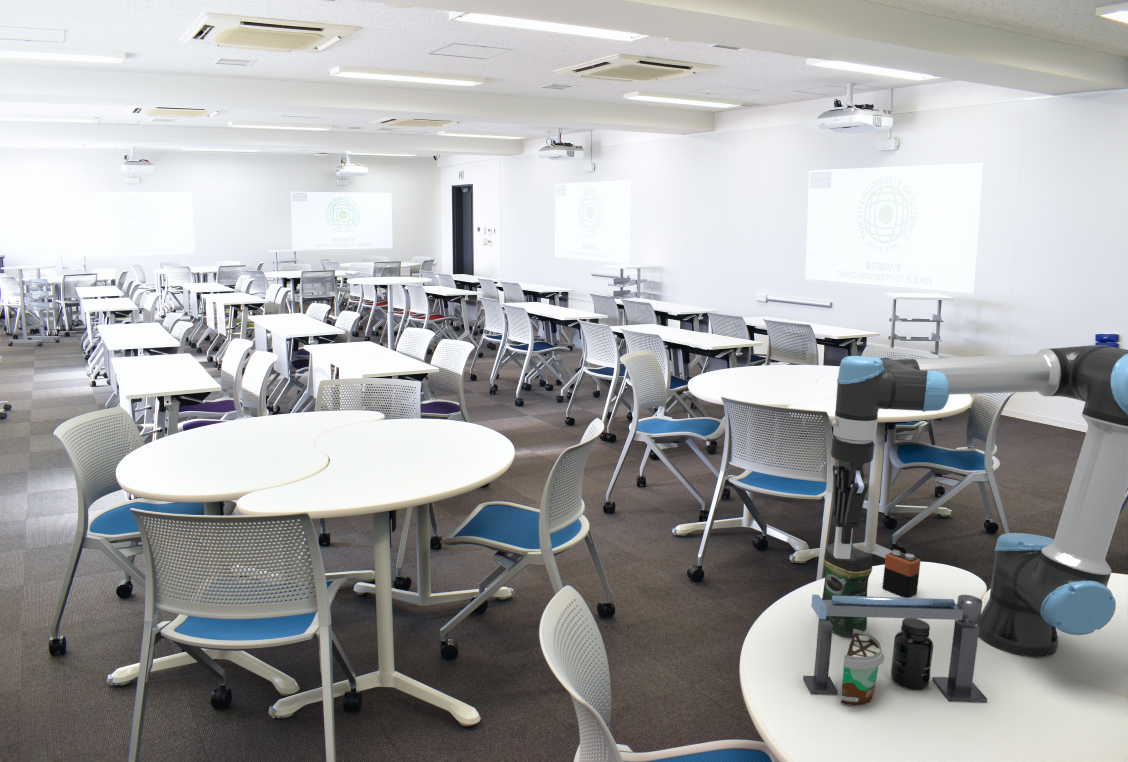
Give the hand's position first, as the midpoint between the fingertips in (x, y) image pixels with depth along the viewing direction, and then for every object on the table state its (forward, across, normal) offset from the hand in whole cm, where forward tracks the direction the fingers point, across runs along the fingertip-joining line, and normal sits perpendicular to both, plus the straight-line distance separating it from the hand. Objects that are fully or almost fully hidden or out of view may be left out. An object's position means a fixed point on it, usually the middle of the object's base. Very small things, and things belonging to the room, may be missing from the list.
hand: (841, 557), depth 152 cm
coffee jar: (+23, -16, +8) cm, 29 cm away
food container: (+23, +10, +2) cm, 25 cm away
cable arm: (+8, +8, +8) cm, 14 cm away
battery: (+23, -35, +28) cm, 50 cm away
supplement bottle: (+23, +5, +14) cm, 27 cm away
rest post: (+23, +8, -4) cm, 25 cm away
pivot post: (+23, +8, +22) cm, 32 cm away
